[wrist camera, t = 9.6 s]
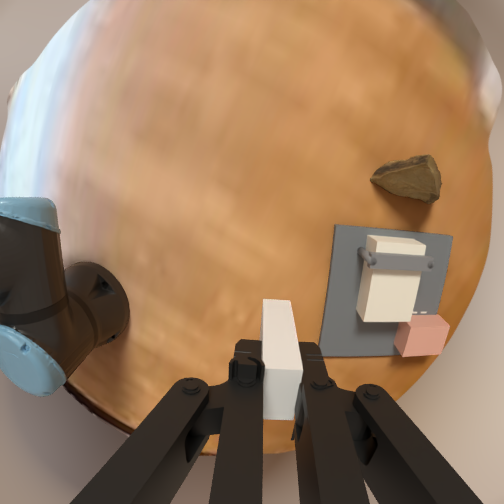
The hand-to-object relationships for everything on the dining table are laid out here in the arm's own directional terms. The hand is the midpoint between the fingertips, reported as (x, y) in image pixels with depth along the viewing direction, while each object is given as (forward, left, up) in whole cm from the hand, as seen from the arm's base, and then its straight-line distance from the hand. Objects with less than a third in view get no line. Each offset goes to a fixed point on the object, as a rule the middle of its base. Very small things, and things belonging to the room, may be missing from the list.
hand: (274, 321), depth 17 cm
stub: (+27, -15, -28) cm, 42 cm away
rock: (+20, +8, -29) cm, 37 cm away
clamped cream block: (+18, -6, -28) cm, 34 cm away
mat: (+20, -10, -29) cm, 36 cm away
